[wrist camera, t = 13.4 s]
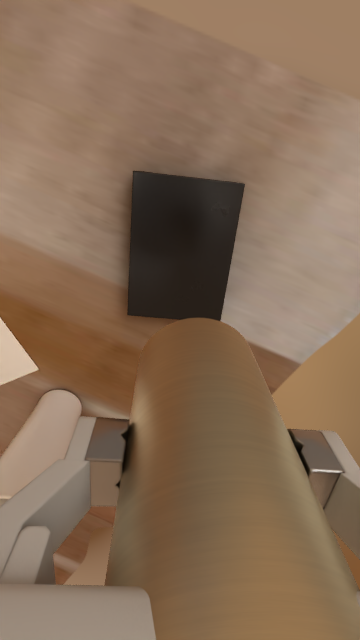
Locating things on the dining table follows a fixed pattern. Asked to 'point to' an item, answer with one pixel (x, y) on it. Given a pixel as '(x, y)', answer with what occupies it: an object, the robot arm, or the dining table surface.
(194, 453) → the tin
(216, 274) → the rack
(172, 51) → the dining table surface
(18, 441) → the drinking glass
